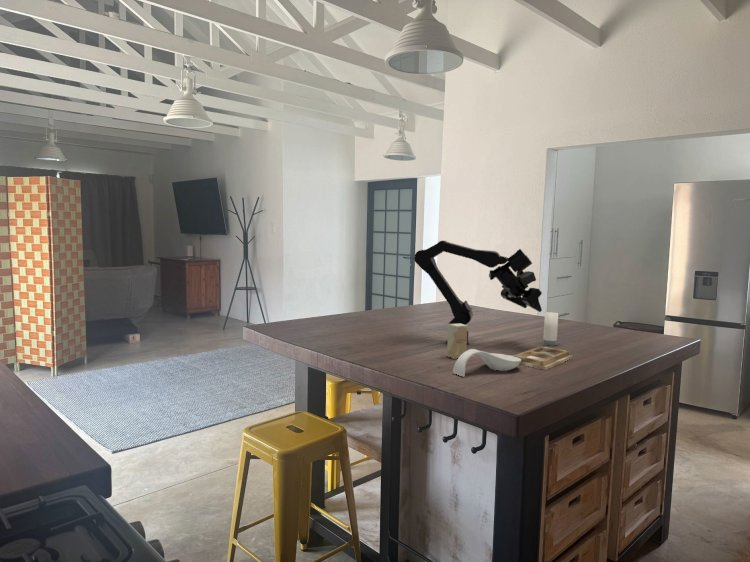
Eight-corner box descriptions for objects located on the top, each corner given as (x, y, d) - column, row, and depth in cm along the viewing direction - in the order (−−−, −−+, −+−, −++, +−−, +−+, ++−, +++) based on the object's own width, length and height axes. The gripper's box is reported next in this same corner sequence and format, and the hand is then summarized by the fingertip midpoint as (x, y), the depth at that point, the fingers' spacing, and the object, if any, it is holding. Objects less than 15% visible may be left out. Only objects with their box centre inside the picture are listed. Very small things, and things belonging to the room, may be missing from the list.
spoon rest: (499, 362, 172) (500, 340, 171) (528, 371, 162) (529, 348, 161) (444, 372, 159) (445, 348, 158) (472, 382, 149) (473, 357, 148)
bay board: (504, 361, 172) (504, 354, 172) (533, 351, 187) (533, 344, 187) (545, 370, 162) (546, 362, 162) (572, 358, 178) (572, 351, 178)
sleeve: (548, 346, 196) (550, 314, 195) (540, 343, 201) (542, 312, 199) (559, 345, 198) (561, 314, 196) (551, 343, 202) (553, 312, 201)
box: (453, 359, 173) (455, 326, 172) (446, 356, 177) (447, 323, 175) (466, 358, 175) (468, 325, 174) (459, 355, 179) (460, 322, 178)
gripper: (538, 265, 183) (563, 296, 187) (508, 262, 201) (532, 290, 205) (517, 288, 181) (543, 319, 186) (489, 283, 199) (513, 311, 203)
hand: (533, 309), depth 195 cm, fingers open, 9 cm apart
